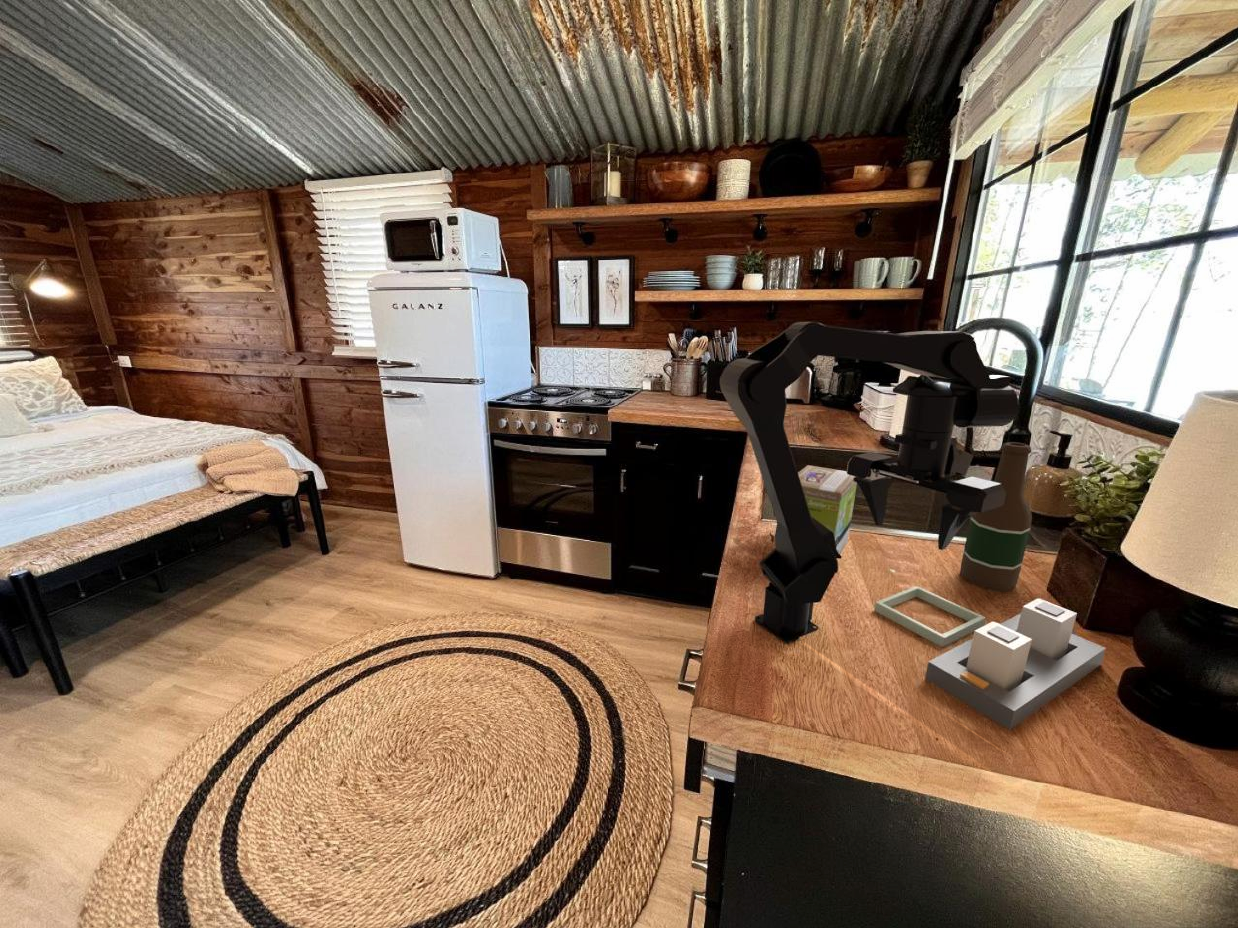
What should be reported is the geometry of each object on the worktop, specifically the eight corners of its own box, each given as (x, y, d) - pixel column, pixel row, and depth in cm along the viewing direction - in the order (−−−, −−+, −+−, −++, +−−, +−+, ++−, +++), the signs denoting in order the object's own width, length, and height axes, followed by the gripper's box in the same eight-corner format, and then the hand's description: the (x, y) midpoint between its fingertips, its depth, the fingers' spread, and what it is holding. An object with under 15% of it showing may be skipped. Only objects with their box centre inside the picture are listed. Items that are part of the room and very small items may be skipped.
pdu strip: (1008, 734, 53) (1014, 708, 52) (924, 682, 61) (928, 659, 60) (1109, 660, 64) (1116, 638, 63) (1028, 625, 72) (1033, 604, 71)
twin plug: (1047, 671, 61) (1062, 620, 59) (1011, 653, 65) (1023, 604, 63) (1063, 661, 63) (1077, 611, 61) (1026, 644, 67) (1038, 596, 65)
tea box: (831, 571, 88) (842, 492, 84) (775, 556, 93) (782, 481, 89) (849, 541, 99) (859, 470, 95) (798, 530, 105) (805, 462, 101)
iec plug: (1000, 702, 57) (1014, 648, 55) (963, 680, 60) (974, 629, 58) (1018, 690, 58) (1032, 637, 56) (981, 670, 62) (993, 619, 60)
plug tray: (941, 651, 66) (944, 637, 66) (873, 613, 75) (875, 602, 74) (982, 629, 71) (985, 617, 70) (914, 596, 79) (916, 585, 79)
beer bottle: (1015, 580, 84) (1048, 442, 78) (1015, 600, 78) (1051, 452, 72) (960, 567, 89) (987, 436, 82) (957, 585, 83) (985, 445, 76)
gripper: (1040, 435, 62) (1013, 550, 66) (898, 412, 78) (884, 506, 82) (992, 446, 57) (966, 569, 61) (850, 419, 73) (838, 518, 77)
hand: (908, 536), depth 70 cm, fingers open, 9 cm apart
